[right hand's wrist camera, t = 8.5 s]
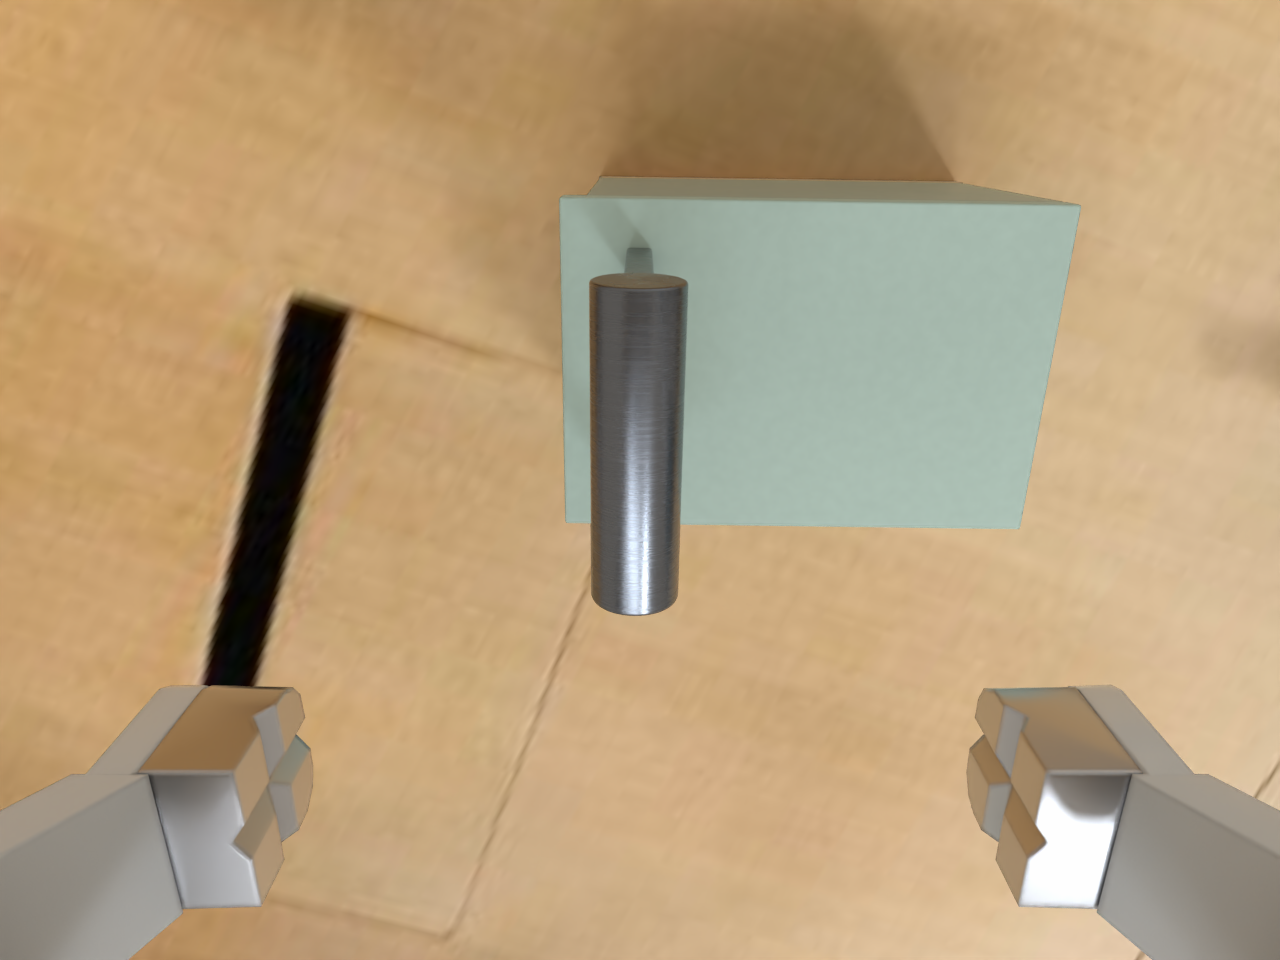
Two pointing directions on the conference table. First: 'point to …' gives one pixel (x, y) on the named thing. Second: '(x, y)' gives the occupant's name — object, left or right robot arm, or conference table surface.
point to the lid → (798, 368)
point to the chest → (802, 189)
